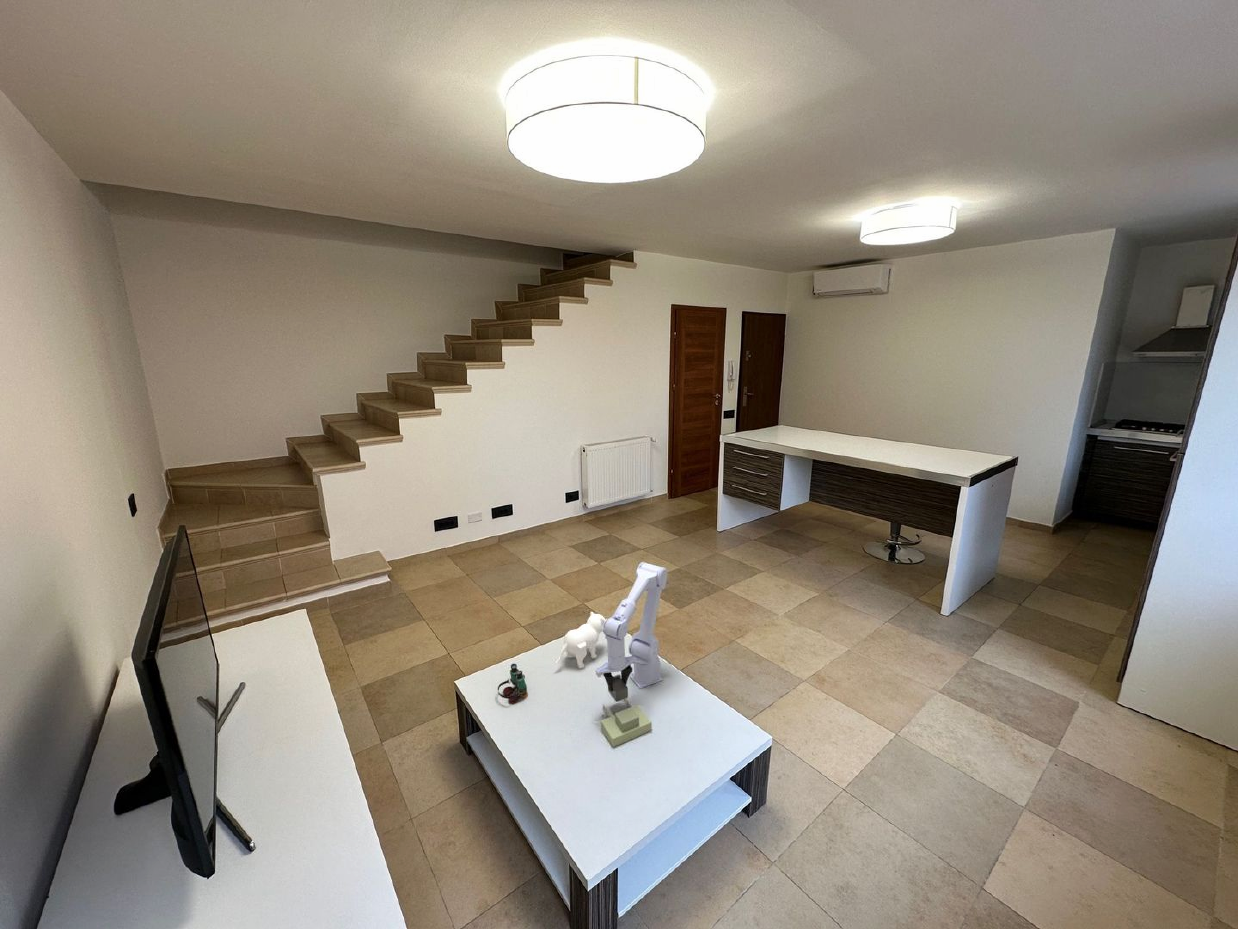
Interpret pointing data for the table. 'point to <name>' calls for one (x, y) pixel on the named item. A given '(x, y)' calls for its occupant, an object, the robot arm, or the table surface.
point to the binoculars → (515, 685)
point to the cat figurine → (583, 639)
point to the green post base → (625, 724)
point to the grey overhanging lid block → (619, 689)
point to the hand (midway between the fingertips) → (617, 687)
